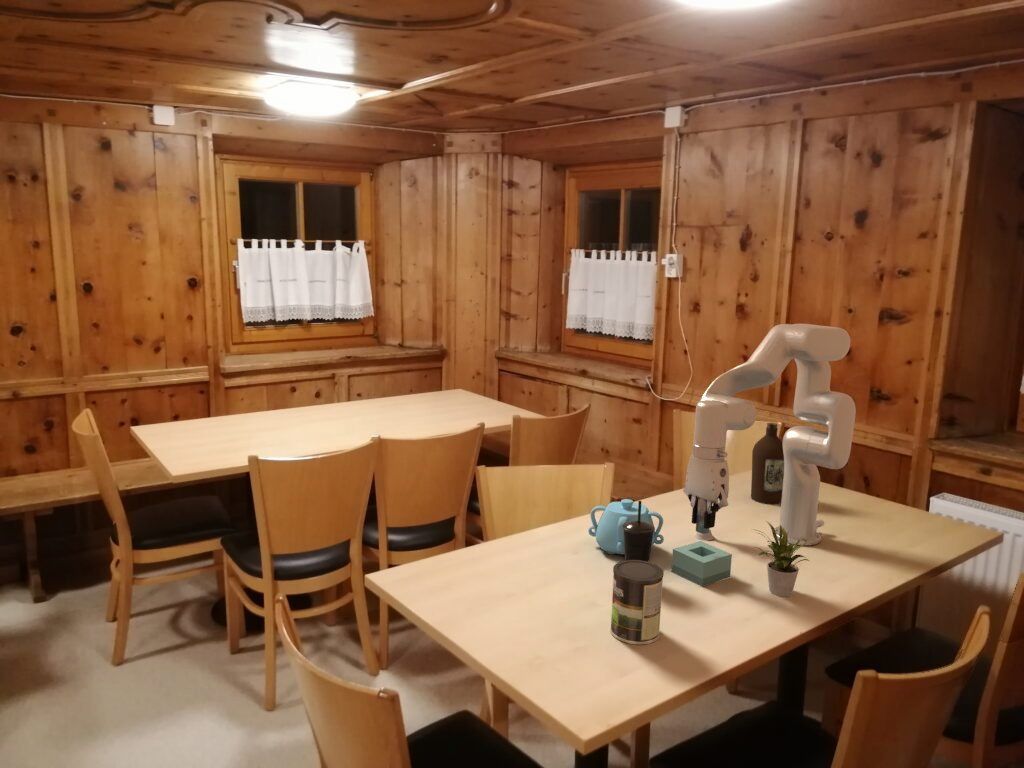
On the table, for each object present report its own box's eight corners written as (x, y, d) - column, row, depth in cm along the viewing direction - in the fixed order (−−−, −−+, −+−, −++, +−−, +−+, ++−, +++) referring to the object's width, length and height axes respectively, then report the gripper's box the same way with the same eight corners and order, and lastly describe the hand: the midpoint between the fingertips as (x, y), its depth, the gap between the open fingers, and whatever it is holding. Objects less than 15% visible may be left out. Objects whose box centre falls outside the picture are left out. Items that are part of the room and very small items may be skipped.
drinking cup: (654, 576, 192) (658, 498, 188) (649, 589, 185) (653, 508, 181) (623, 571, 194) (627, 494, 191) (617, 584, 187) (620, 504, 184)
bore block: (699, 563, 200) (700, 540, 199) (730, 577, 192) (731, 554, 191) (671, 571, 195) (672, 548, 194) (701, 586, 187) (703, 562, 186)
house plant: (732, 581, 190) (736, 517, 187) (777, 573, 195) (783, 511, 192) (771, 607, 177) (777, 538, 174) (819, 598, 182) (826, 531, 179)
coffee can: (616, 645, 159) (619, 580, 156) (605, 621, 169) (608, 559, 166) (666, 644, 160) (669, 579, 157) (652, 620, 170) (656, 559, 167)
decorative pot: (612, 565, 198) (615, 514, 196) (583, 542, 213) (585, 494, 210) (667, 556, 204) (670, 507, 202) (635, 534, 219) (637, 488, 216)
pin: (701, 527, 193) (704, 488, 192) (711, 531, 191) (715, 492, 189) (692, 530, 192) (695, 490, 190) (702, 534, 189) (705, 494, 187)
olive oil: (742, 494, 256) (748, 420, 251) (772, 493, 258) (778, 419, 253) (759, 505, 245) (765, 428, 241) (790, 504, 248) (796, 427, 243)
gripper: (746, 458, 183) (740, 533, 186) (693, 442, 197) (688, 512, 200) (724, 462, 179) (718, 538, 182) (672, 446, 192) (667, 517, 196)
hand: (703, 524), depth 191 cm, fingers closed on pin, 3 cm apart
